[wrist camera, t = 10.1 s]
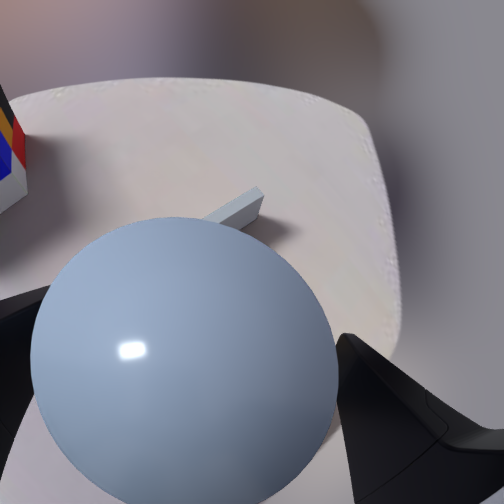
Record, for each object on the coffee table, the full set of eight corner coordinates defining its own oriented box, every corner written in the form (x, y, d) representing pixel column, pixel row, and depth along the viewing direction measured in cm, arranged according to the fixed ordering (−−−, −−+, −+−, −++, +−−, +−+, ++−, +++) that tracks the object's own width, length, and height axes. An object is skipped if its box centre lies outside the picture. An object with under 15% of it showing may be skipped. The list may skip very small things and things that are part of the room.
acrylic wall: (112, 317, 16) (94, 307, 13) (106, 307, 16) (88, 295, 13) (256, 218, 20) (264, 194, 17) (249, 210, 20) (256, 186, 17)
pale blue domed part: (195, 425, 14) (164, 552, 2) (140, 356, 15) (-4, 321, 3) (263, 373, 15) (391, 382, 4) (208, 306, 17) (206, 170, 5)
